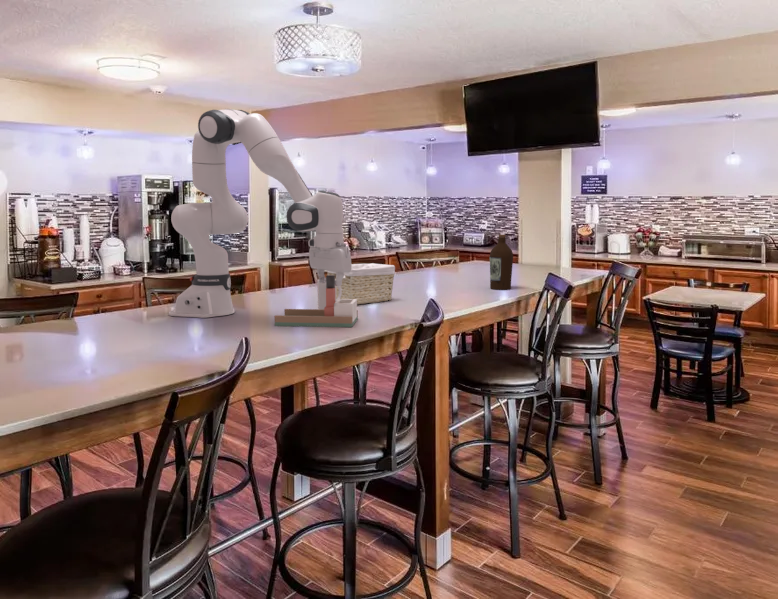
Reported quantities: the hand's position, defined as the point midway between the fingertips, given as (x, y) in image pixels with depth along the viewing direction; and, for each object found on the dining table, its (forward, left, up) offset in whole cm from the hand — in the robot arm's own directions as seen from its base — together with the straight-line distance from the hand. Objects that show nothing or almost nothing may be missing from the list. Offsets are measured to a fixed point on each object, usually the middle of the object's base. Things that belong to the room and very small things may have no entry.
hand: (330, 284), depth 205 cm
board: (-5, 0, -13) cm, 13 cm away
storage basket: (+4, +46, -13) cm, 48 cm away
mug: (-4, +19, -13) cm, 24 cm away
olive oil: (+63, +90, -13) cm, 111 cm away
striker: (0, 0, -11) cm, 11 cm away
